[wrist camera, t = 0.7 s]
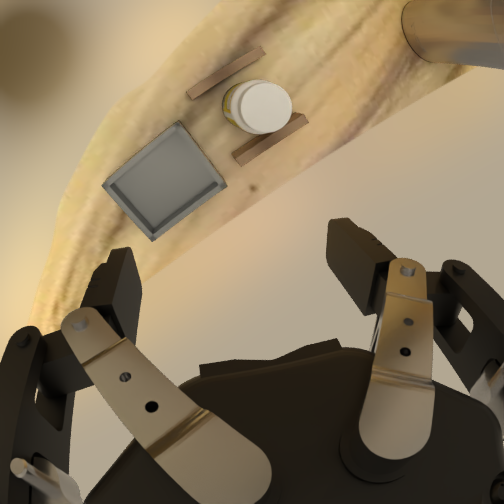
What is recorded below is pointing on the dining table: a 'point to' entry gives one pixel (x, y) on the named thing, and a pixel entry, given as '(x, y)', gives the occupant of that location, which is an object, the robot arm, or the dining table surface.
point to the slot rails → (262, 140)
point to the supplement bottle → (257, 106)
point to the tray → (164, 181)
